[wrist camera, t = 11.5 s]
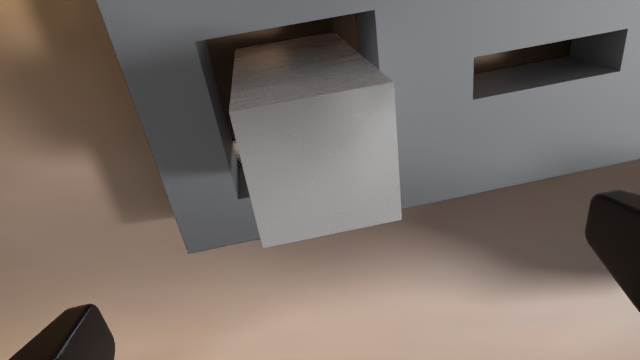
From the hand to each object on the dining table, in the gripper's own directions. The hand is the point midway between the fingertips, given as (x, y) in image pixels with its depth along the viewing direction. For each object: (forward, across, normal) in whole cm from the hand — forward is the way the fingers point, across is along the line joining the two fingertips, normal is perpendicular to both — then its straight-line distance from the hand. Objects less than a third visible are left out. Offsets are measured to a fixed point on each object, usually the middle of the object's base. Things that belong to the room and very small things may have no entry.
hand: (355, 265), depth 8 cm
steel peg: (+12, 0, 0) cm, 12 cm away
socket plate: (+12, -5, 0) cm, 13 cm away
